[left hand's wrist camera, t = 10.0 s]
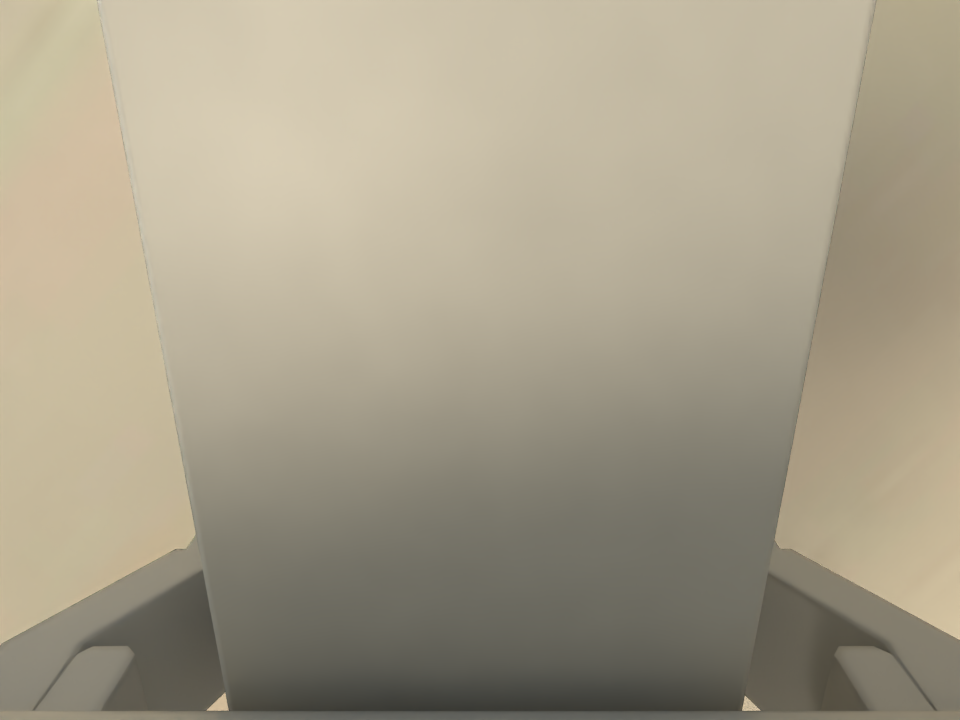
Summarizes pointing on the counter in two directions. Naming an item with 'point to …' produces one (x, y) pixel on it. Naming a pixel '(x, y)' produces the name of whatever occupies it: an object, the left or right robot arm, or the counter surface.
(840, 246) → the counter surface
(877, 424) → the counter surface
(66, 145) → the counter surface
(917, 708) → the left robot arm
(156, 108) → the post
